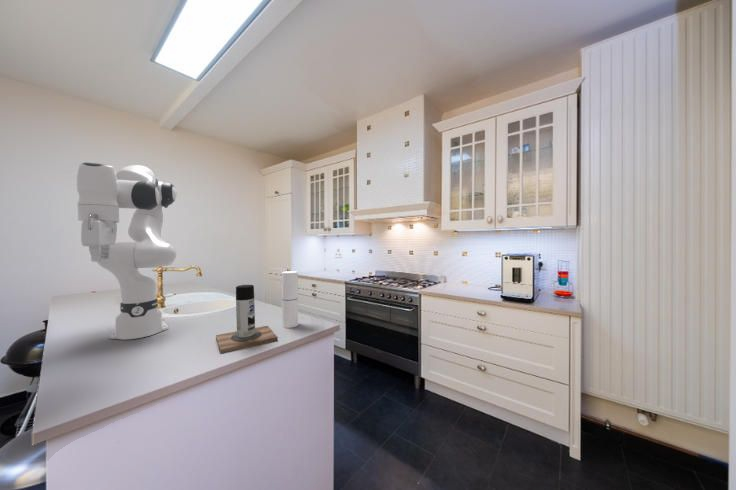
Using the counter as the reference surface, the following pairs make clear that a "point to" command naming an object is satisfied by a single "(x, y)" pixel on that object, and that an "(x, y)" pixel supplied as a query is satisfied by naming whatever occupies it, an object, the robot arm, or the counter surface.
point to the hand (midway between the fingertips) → (100, 260)
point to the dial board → (245, 339)
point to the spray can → (245, 311)
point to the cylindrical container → (289, 299)
